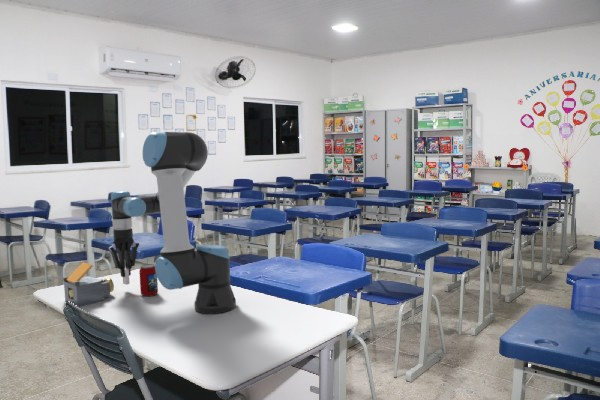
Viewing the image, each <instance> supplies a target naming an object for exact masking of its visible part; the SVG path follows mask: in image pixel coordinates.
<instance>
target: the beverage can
mask: <svg viewBox="0 0 600 400" xmlns="http://www.w3.org/2000/svg"><path fill="white" fill-rule="evenodd" d="M138 273H139V287H140V295H142V296H143V297H154V296H155V295H156V294H158V293H159V289H158V287H159V285H158V284H159V283H158V278H157V275H156V271H155V264H152V263H151V264H150V263H149V264H147V263H146V264H143V265H141V266H140V268H139V272H138Z"/></svg>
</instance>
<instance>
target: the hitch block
mask: <svg viewBox="0 0 600 400" xmlns="http://www.w3.org/2000/svg"><path fill="white" fill-rule="evenodd" d="M68 277H69V276H64V277H62V282H63V288H64V290H63V291H64V301H65V302H67V301H70V302H72V303H74V304H75V305H77V306H79V307H83V306H87V305H91V304H94V303H95V304H96V303H100V302H103V301H104V299H107V298H111V292H110V283H109V282H104V283H103V280H104V279H103V278H102V279H98V278H96V277H93V276H90V275H88V276H83V277H82V278H81V280H80V281H75V282H74V283H72V282H69V281H67V280H66V279H67V278H68ZM72 289H73V298H70V296H69V290H72ZM75 305H74V306H75ZM77 306H76V307H77Z"/></svg>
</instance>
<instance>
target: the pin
mask: <svg viewBox="0 0 600 400" xmlns="http://www.w3.org/2000/svg"><path fill="white" fill-rule="evenodd" d="M102 280H103V283H104V282H109V283H110V293H113V291H114V288H115V286H114V282H113V280H112V278H110V277H109V278H104V279H102ZM69 296H70V298H73V289H72V290H69Z"/></svg>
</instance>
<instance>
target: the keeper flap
mask: <svg viewBox="0 0 600 400" xmlns="http://www.w3.org/2000/svg"><path fill="white" fill-rule="evenodd" d="M93 267H94V265H93V264H90V263H87V262H84V261H83V262H81V263H80V264H79V266H77V267H76V268H75V270H74V271H73V272H72V273H71V274H70V275H69V276H67V277H68V278H67V279H66V280H67V281H69V282H72V283H74V282H75V281H80V280H81V278H82V277H85V276H86V274H87V273H88V272H89V271H90V270H91V269H92V268H93Z"/></svg>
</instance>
